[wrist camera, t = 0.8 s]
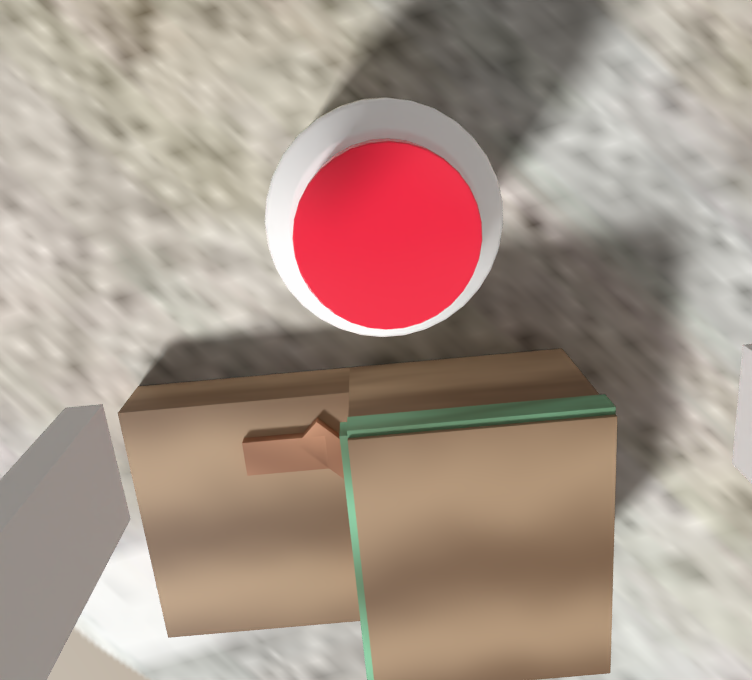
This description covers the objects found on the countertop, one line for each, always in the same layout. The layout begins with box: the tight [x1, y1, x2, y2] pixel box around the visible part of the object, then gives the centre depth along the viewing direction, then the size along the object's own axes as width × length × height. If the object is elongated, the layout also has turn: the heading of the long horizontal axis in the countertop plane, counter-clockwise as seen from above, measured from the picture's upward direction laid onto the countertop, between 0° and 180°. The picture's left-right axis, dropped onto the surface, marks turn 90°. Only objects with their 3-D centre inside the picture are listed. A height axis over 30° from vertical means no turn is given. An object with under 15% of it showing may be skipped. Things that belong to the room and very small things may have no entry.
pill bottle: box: [265, 97, 503, 337], centre depth 26 cm, size 8×8×11 cm
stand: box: [118, 349, 617, 680], centre depth 32 cm, size 12×20×8 cm, turn 95°
